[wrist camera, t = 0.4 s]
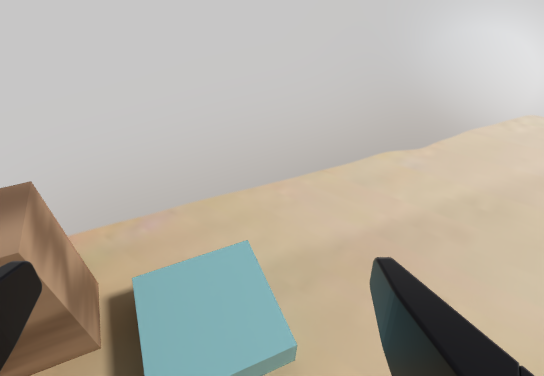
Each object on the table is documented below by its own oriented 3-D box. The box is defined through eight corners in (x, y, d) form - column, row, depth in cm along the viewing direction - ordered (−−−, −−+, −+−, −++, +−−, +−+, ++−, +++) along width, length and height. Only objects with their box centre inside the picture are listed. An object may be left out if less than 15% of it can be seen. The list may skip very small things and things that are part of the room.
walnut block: (100, 348, 22) (18, 252, 15) (9, 383, 21) (-135, 295, 13) (98, 283, 26) (31, 181, 19) (20, 308, 24) (-87, 208, 17)
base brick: (294, 362, 22) (297, 344, 20) (161, 425, 20) (149, 412, 18) (249, 261, 28) (247, 239, 26) (142, 298, 26) (132, 277, 24)
